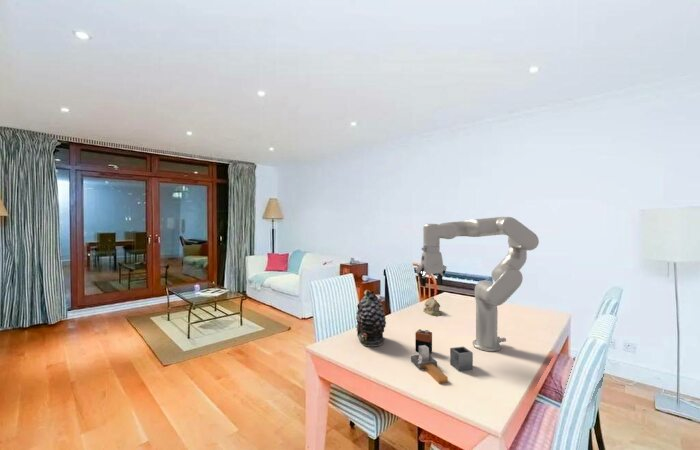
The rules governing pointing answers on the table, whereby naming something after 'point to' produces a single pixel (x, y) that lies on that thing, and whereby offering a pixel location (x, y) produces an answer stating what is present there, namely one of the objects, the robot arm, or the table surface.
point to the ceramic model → (432, 307)
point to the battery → (423, 339)
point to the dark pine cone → (370, 320)
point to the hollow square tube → (461, 358)
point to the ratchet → (428, 364)
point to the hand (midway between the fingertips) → (431, 285)
